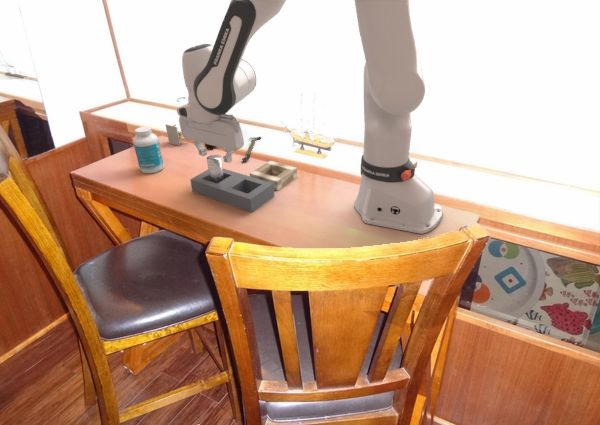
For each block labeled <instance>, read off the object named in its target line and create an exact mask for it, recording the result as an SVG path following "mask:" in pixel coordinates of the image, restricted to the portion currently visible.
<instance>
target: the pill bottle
mask: <svg viewBox="0 0 600 425" xmlns="http://www.w3.org/2000/svg"><path fill="white" fill-rule="evenodd" d="M134 132H135V136H134V137H133V140H132V142H133V147H134V151H135V155H136V158H137V162H138V163H137V164H138V167H139V170H140V172H142V173H144V174H155V173H158V172H161V171H162V170H163V169H164V167H165V164H164V159H163V155H162V151H161V147H160V142H159V138H158V136H157V135H156V134H155V133H153V131H152V128H151V127H150V126H139V127H138V128H135V129H134Z"/></svg>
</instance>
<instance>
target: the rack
mask: <svg viewBox="0 0 600 425" xmlns="http://www.w3.org/2000/svg"><path fill="white" fill-rule="evenodd" d="M223 174H224V180H223V181H221V182H219V183H218V184H217V183H214V182H210V176H209V170H208V169H206V170H204V171H203V172H201V173H199V174H198V175H195V176H194V177H192V178H191V179H190V180H189V182H190V185H191V190H192V193H194V194H198V195H201V196H204V197H206V198H209V199H212V200H216V201H218V202H221V203H222V204H223V203H224V204H227V205H230V206H232V207H234V208H238V209H241V210H242V211H243V210H244V211H246V212H249V213H253V212H255V211H256V210H258V209H259V208H260V207H262V206H263V205H264V204H266V203H267V202H268V201H270V200H272V198H274V197H275V190H274V184H273V183H270V182H267V181H263V180H260V179H257V178H253V177H250V175H247V174H243V173H240V172H236V171H234V170H233V171H232V170H231V169H230V170H229V169H226V168H223Z"/></svg>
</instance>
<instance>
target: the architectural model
mask: <svg viewBox="0 0 600 425" xmlns="http://www.w3.org/2000/svg"><path fill="white" fill-rule="evenodd" d="M165 129H166V134H167V139H168V142H169V144H170V145H175V146H178V147H181V141H180V139H181V140H182V139H185V138H184V136H183V135H182V133H181V130H178V127H177V124H174V125H169V124H165Z"/></svg>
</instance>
